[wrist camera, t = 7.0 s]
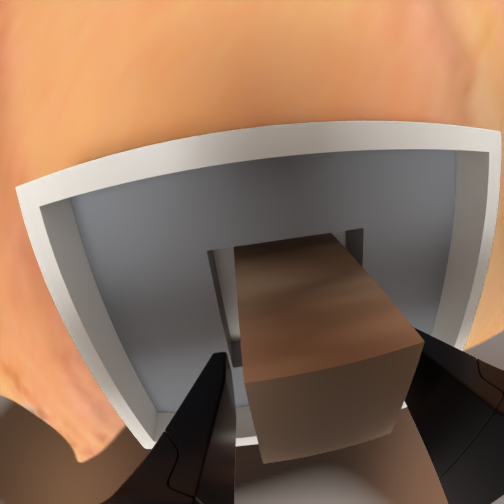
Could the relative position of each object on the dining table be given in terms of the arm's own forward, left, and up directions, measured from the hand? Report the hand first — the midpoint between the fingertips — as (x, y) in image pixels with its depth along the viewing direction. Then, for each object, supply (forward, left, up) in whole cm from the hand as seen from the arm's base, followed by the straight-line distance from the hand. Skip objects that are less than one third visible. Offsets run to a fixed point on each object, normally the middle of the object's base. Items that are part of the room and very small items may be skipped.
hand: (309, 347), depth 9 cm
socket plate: (0, 0, -5) cm, 5 cm away
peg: (0, 0, -4) cm, 4 cm away
